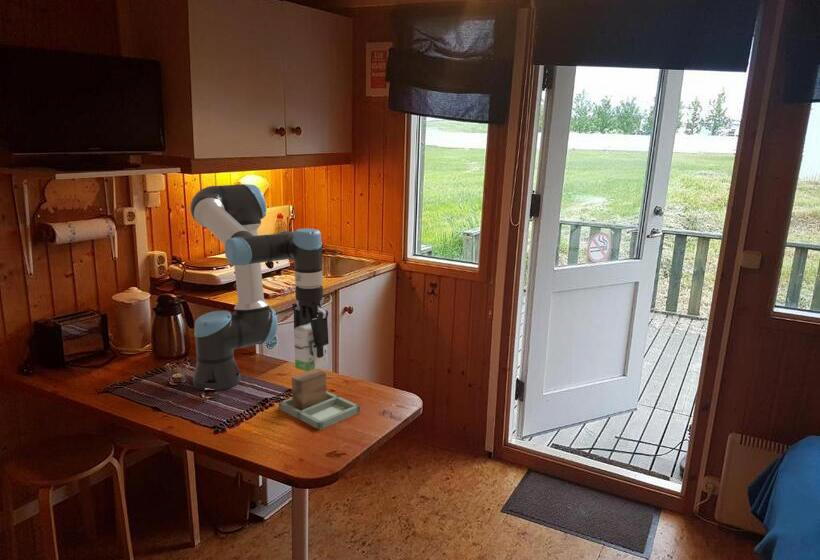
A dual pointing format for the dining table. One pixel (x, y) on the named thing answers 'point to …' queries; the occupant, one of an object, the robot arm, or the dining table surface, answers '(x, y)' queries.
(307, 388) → the walnut block
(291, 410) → the slot board
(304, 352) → the ink box
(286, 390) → the dining table surface
